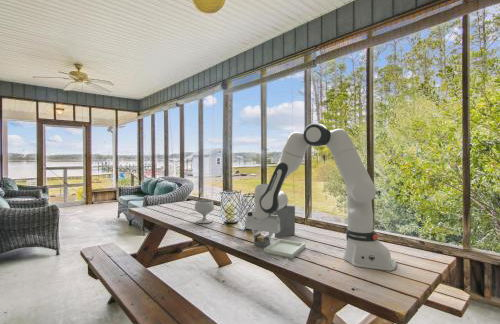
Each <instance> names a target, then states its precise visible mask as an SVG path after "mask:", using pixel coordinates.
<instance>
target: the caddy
mask: <svg viewBox="0 0 500 324" xmlns="http://www.w3.org/2000/svg"><path fill="white" fill-rule="evenodd" d="M269 235H270V234H269V233H268V234H266V235H264V236H265V237H264V243H263V242H257V237H259V236H262V232H258V233H256V235H254V234H253V239H254V240H253V244H254V245H253V246H257V247H262V248H265V247H267V246H269V245H270V244H271V240H267V237H268V236H269Z"/></svg>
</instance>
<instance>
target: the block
mask: <svg viewBox="0 0 500 324" xmlns="http://www.w3.org/2000/svg"><path fill="white" fill-rule="evenodd" d="M265 236H266V235H261V236H259V237H257V242H263V243H264V237H265Z"/></svg>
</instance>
